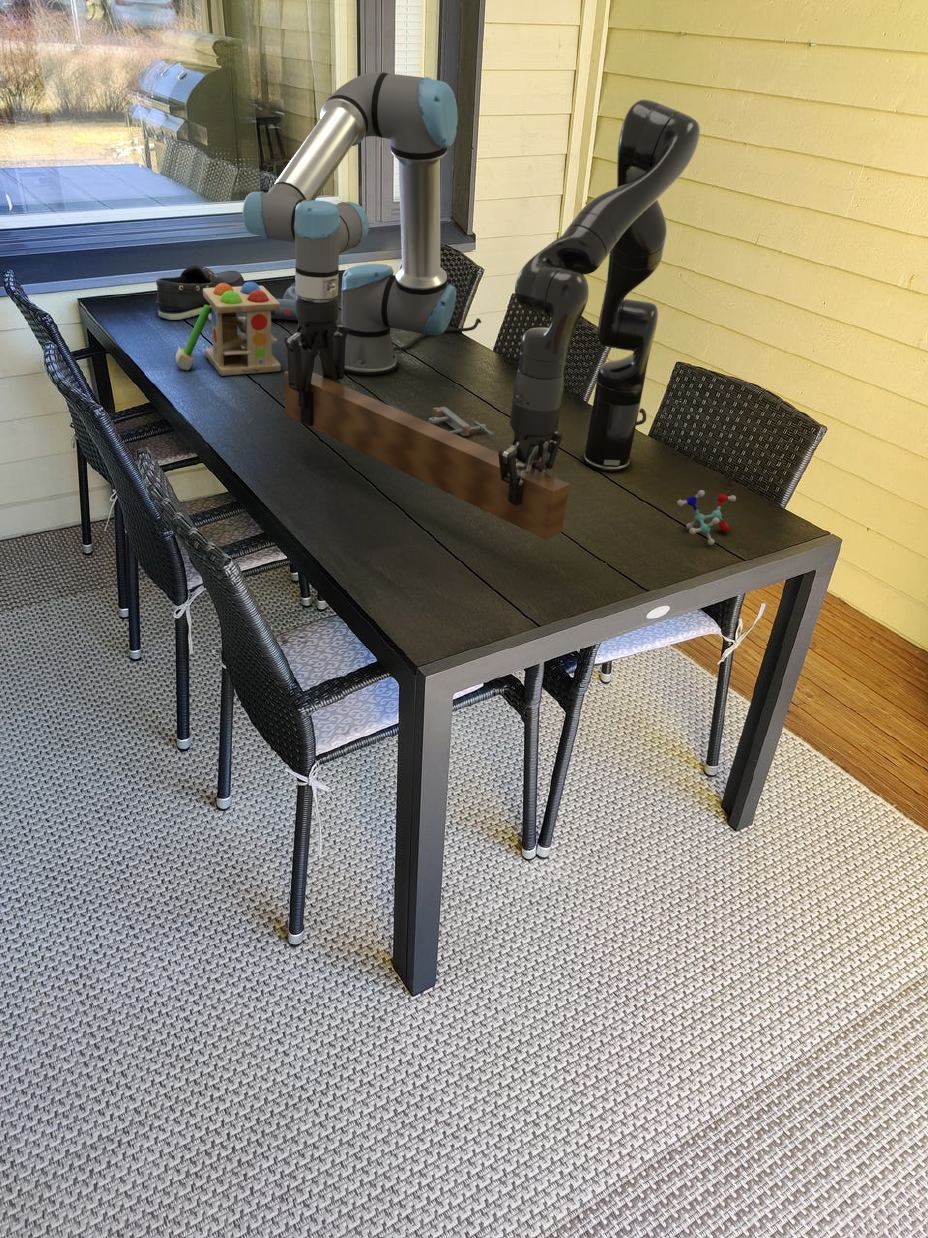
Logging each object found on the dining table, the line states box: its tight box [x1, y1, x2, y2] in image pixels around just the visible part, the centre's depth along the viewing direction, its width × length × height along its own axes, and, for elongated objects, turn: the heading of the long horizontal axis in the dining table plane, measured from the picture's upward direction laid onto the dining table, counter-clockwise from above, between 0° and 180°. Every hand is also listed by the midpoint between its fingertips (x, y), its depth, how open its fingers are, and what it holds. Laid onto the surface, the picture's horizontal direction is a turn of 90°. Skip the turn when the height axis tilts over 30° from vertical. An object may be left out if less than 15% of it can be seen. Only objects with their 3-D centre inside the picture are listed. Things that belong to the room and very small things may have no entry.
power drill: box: [271, 282, 298, 322], centre depth 265 cm, size 5×19×20 cm
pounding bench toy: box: [174, 281, 282, 377], centre depth 225 cm, size 23×14×18 cm, turn 116°
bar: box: [283, 370, 570, 541], centre depth 172 cm, size 64×4×9 cm, turn 49°
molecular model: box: [676, 489, 737, 546], centre depth 179 cm, size 12×10×10 cm
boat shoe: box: [155, 264, 246, 321], centre depth 263 cm, size 13×33×10 cm, turn 147°
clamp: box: [428, 406, 495, 438], centre depth 210 cm, size 15×2×10 cm
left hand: (316, 419), depth 186 cm, fingers closed on bar, 4 cm apart
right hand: (523, 498), depth 159 cm, fingers closed on bar, 4 cm apart
